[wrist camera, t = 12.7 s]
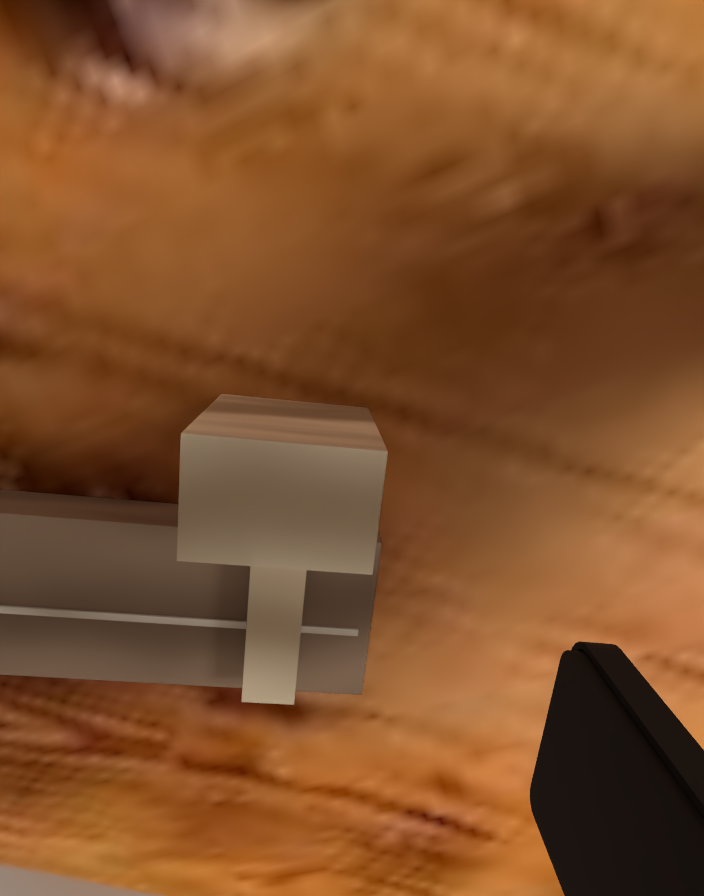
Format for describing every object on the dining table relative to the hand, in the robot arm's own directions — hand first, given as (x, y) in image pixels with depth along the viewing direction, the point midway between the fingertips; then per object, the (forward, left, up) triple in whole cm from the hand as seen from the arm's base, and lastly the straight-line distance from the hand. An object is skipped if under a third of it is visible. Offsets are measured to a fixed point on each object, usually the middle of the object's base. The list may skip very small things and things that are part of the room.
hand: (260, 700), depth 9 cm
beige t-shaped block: (+4, 0, -16) cm, 16 cm away
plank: (+7, -8, -16) cm, 19 cm away
